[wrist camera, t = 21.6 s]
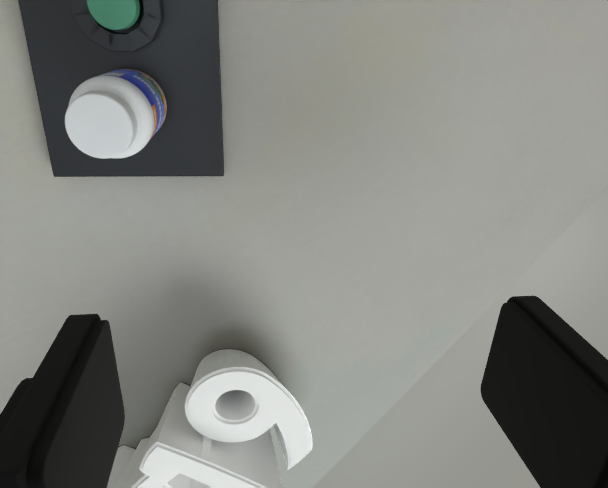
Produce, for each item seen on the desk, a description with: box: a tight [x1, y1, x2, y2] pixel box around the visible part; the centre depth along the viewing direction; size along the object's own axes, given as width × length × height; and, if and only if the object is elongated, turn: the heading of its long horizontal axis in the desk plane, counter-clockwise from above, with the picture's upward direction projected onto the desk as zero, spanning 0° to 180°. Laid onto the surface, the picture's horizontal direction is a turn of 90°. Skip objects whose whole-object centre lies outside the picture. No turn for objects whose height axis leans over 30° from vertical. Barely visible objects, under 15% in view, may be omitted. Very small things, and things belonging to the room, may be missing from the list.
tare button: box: [87, 0, 140, 30], centre depth 32 cm, size 3×3×2 cm
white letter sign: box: [107, 349, 312, 488], centre depth 50 cm, size 35×16×10 cm, turn 134°
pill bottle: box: [65, 69, 167, 159], centre depth 32 cm, size 5×5×10 cm
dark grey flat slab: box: [19, 0, 224, 177], centre depth 36 cm, size 16×14×3 cm
